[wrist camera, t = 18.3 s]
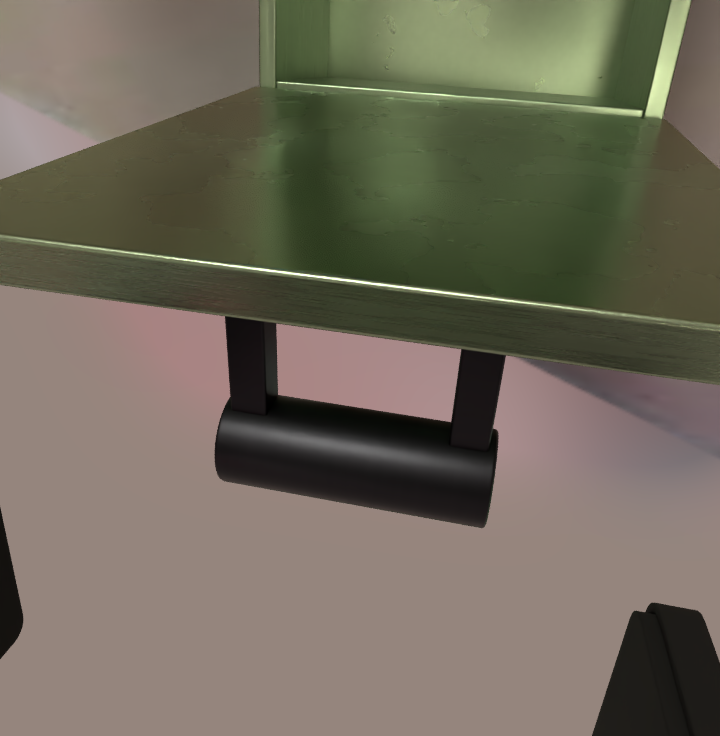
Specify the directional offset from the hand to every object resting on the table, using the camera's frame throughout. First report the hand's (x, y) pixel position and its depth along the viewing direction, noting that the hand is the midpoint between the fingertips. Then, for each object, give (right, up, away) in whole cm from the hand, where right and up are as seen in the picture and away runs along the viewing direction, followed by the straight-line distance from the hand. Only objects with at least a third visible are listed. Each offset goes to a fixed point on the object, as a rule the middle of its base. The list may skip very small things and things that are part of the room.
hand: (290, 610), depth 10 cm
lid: (+2, +8, +5) cm, 10 cm away
